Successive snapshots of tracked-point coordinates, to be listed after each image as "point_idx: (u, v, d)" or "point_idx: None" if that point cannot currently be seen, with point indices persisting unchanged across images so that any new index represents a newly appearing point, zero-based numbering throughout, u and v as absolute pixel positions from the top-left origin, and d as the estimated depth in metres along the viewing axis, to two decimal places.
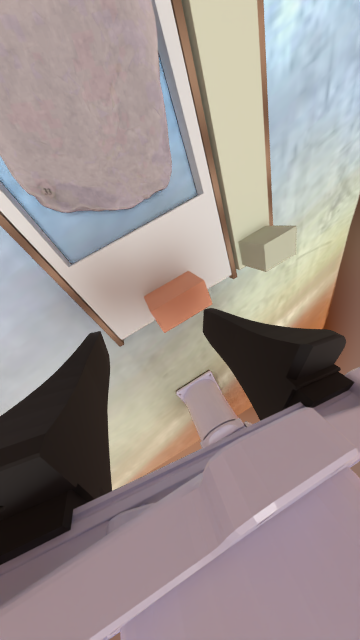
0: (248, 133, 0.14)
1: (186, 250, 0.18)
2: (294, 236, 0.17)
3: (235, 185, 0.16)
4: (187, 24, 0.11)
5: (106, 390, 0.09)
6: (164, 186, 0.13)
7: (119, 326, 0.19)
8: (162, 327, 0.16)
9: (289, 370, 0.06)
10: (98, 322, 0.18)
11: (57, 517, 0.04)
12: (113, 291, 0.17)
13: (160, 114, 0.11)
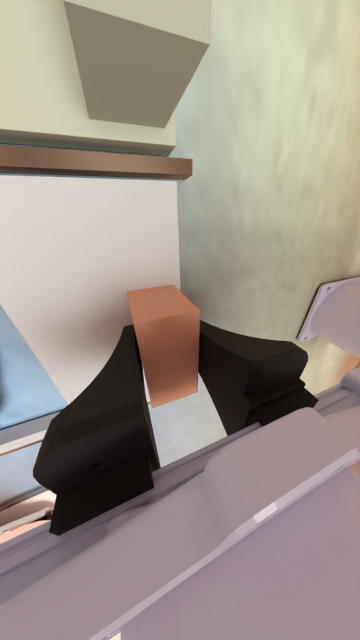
0: None
1: (84, 286, 0.09)
2: None
3: None
4: None
5: (143, 379, 0.09)
6: None
7: None
8: (186, 394, 0.10)
9: (246, 387, 0.06)
10: None
11: (145, 475, 0.04)
12: None
13: None
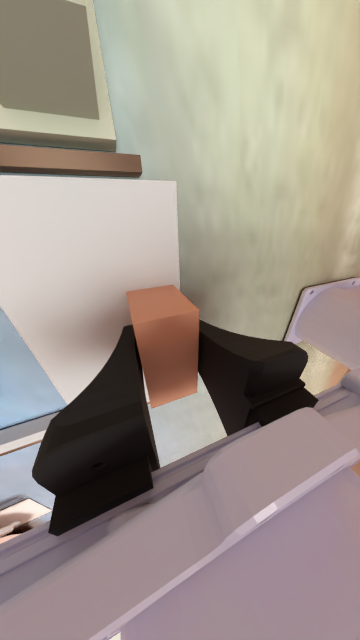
0: None
1: (83, 286, 0.09)
2: None
3: None
4: None
5: (143, 379, 0.09)
6: None
7: None
8: (186, 394, 0.10)
9: (246, 387, 0.06)
10: None
11: (145, 475, 0.04)
12: None
13: None
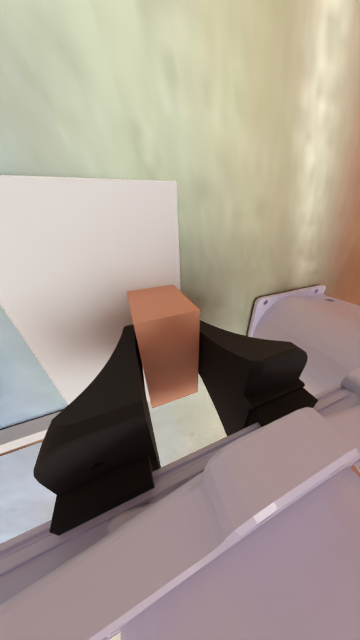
0: None
1: (84, 286, 0.09)
2: None
3: None
4: None
5: (143, 379, 0.09)
6: None
7: None
8: (186, 394, 0.10)
9: (245, 387, 0.06)
10: None
11: (146, 475, 0.04)
12: None
13: None
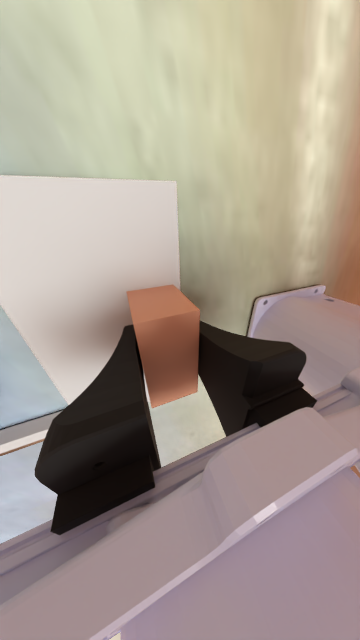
0: None
1: (84, 286, 0.09)
2: None
3: None
4: None
5: (143, 379, 0.09)
6: None
7: None
8: (186, 394, 0.10)
9: (244, 387, 0.06)
10: None
11: (146, 475, 0.04)
12: None
13: None
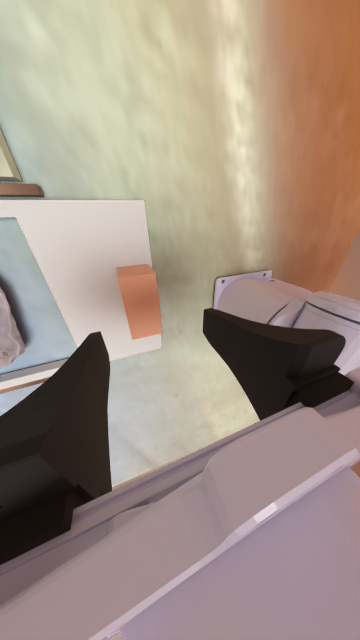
0: None
1: (90, 262, 0.15)
2: None
3: None
4: None
5: (106, 390, 0.09)
6: None
7: (148, 345, 0.21)
8: (155, 333, 0.16)
9: (289, 370, 0.06)
10: None
11: (57, 517, 0.04)
12: (114, 341, 0.19)
13: None
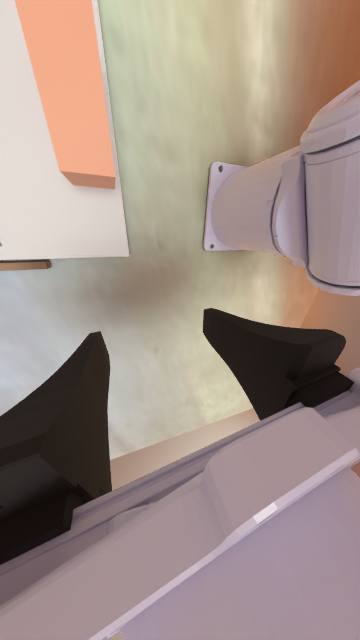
0: None
1: None
2: None
3: None
4: None
5: (106, 390, 0.09)
6: None
7: (108, 246, 0.15)
8: (102, 172, 0.10)
9: (289, 370, 0.06)
10: None
11: (57, 517, 0.04)
12: (51, 220, 0.13)
13: None
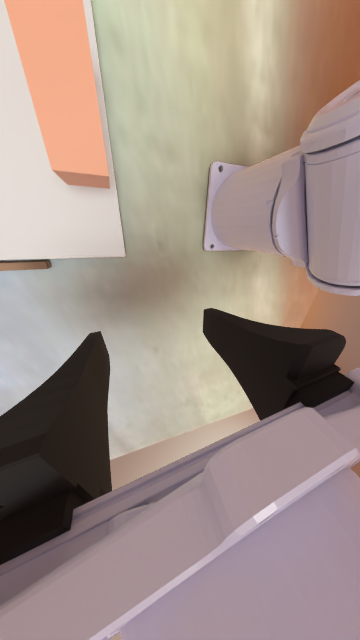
0: None
1: None
2: None
3: None
4: None
5: (106, 390, 0.09)
6: None
7: (104, 246, 0.15)
8: (95, 171, 0.10)
9: (289, 370, 0.06)
10: None
11: (57, 517, 0.04)
12: (45, 220, 0.13)
13: None
